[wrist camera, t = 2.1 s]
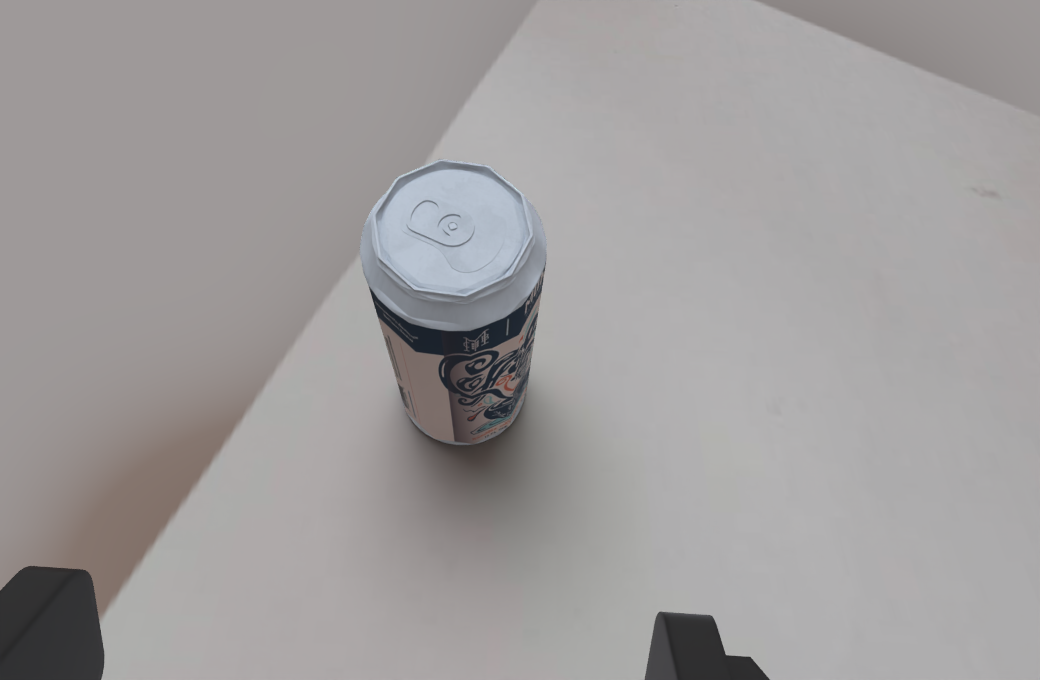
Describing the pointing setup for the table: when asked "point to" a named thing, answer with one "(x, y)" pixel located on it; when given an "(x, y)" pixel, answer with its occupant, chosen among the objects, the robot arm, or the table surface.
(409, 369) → the beer can
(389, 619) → the table surface
